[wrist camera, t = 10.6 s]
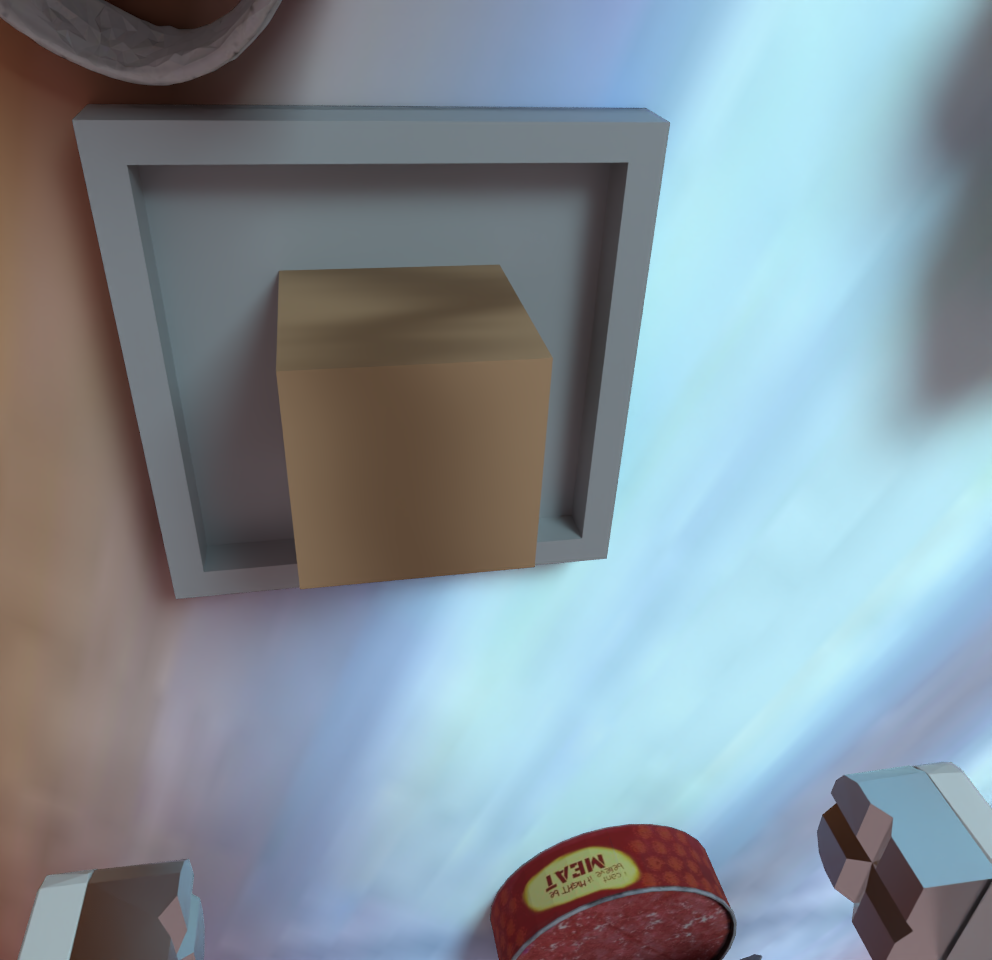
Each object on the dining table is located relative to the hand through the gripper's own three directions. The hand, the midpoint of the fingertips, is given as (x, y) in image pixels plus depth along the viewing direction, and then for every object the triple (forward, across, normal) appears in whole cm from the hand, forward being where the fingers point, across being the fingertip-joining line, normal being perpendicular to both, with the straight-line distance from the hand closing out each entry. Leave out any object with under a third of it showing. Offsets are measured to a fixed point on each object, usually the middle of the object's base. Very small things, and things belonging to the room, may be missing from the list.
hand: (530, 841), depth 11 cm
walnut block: (+13, +1, 0) cm, 13 cm away
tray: (+13, +1, -1) cm, 13 cm away
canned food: (+14, -8, +25) cm, 30 cm away
